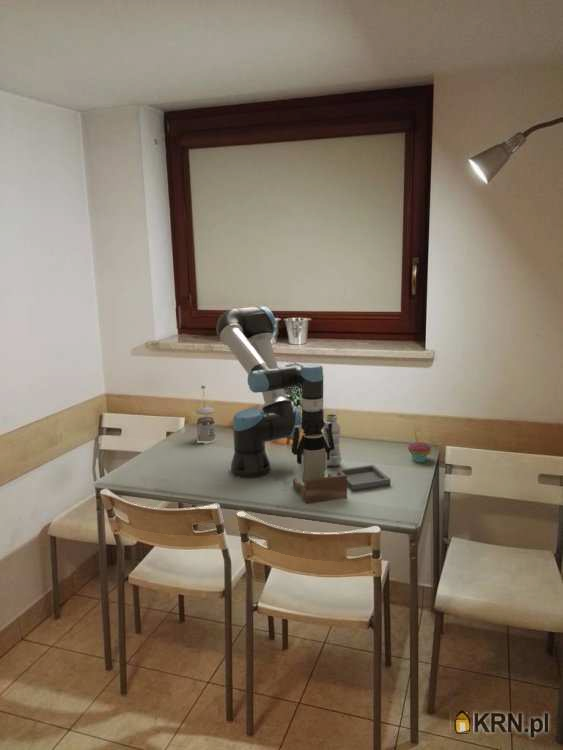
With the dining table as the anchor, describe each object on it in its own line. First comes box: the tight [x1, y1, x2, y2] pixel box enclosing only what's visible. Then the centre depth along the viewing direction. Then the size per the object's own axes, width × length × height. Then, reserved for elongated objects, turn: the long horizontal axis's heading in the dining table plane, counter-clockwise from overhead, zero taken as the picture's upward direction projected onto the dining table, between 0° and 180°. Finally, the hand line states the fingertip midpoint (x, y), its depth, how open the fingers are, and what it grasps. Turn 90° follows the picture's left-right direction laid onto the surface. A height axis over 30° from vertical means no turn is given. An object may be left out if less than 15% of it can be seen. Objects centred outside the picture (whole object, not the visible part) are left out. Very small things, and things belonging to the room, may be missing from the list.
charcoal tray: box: [336, 464, 391, 492], centre depth 221 cm, size 14×14×2 cm
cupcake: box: [407, 431, 432, 463], centre depth 238 cm, size 9×8×12 cm
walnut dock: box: [292, 473, 348, 505], centre depth 212 cm, size 15×14×8 cm
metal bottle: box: [322, 413, 342, 467], centre depth 235 cm, size 6×7×20 cm
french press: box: [195, 385, 216, 441], centre depth 267 cm, size 10×12×25 cm
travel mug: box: [301, 431, 326, 484], centre depth 216 cm, size 8×8×18 cm
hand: (313, 470), depth 217 cm, fingers closed on travel mug, 8 cm apart
